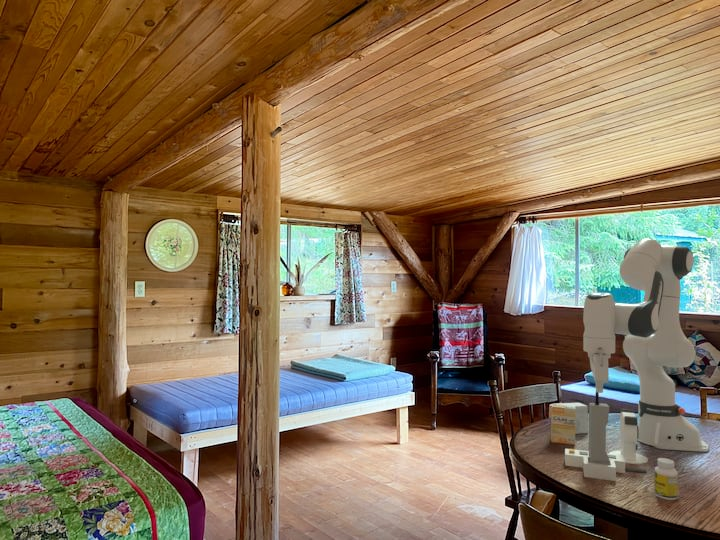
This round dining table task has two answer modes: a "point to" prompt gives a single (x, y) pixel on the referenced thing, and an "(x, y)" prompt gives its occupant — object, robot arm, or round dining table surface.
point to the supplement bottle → (666, 479)
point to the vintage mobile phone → (598, 430)
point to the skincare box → (579, 417)
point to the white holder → (629, 438)
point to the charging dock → (598, 465)
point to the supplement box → (563, 424)
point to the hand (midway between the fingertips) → (599, 391)
